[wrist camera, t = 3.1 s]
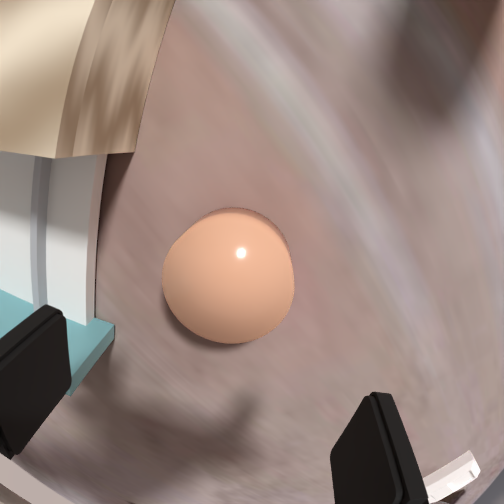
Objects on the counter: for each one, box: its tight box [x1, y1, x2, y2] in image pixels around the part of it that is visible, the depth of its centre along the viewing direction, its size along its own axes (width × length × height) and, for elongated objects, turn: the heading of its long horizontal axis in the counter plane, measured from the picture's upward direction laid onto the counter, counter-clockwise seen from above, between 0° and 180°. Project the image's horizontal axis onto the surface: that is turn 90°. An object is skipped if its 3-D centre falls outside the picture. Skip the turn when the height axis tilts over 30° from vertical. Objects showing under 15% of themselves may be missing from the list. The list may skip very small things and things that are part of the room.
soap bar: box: [423, 450, 480, 504], centre depth 24 cm, size 5×9×3 cm, turn 130°
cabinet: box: [0, 0, 175, 159], centre depth 10 cm, size 18×20×8 cm
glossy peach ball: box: [162, 208, 294, 344], centre depth 17 cm, size 6×6×4 cm
